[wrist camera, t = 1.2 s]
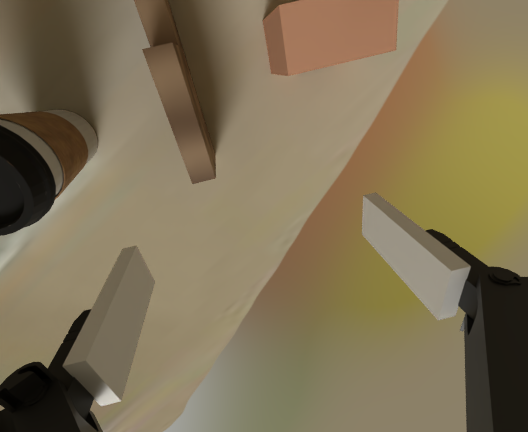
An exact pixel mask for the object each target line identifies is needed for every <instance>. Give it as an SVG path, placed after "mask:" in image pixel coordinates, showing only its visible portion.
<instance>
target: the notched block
mask: <svg viewBox="0 0 528 432" xmlns="http://www.w3.org/2000/svg"><path fill="white" fill-rule="evenodd" d="M398 3H399V0H299V1H295V2H290V3H286V4H281V5H278V6H277V7H276V8H275V9H274V10H273V11H272V12H271V13H270V14H269V15H268V16H267V17H266V18H265V19H264V20H263V25H264V31H265V37H266V44H267V50H268V56H269V62H270V68H271V74H277V75H285V76H290V75H294V74H299V73H303V72H307V71H311V70H315V69H319V68H324V67H328V66H332V65H336V64H340V63H344V62H349V61H353V60H357V59H361V58H365V57H370V56H374V55H378V54H382V53H386V52H390V51H395V50H396V42H397V23H398Z"/></svg>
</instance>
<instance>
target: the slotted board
mask: <svg viewBox="0 0 528 432" xmlns="http://www.w3.org/2000/svg"><path fill="white" fill-rule="evenodd" d="M134 2H135V4H136V7H137V10H138V13H139V16H140V18H141V21H142V24H143V27H144V30H145V32H146V35H147V38H148V41H149V44H150V46H151V47H150V48H146V49H142V50H143V53H144V56H145V58H146V61H147V64H148V66H149V69H150V72H151V74H152V77H153V80H154V82H155V85H156V88H157V90H158V93H159V96H160V98H161V101H162V104H163V106H164V109H165V112H166V115H167V117H168V120H169V123H170V125H171V128H172V131H173V133H174V136H175V139H176V141H177V144H178V147H179V149H180V152H181V155H182V157H183V160H184V163H185V165H186V168H187V171H188V173H189V176H190V179H191V181H192V184H195V183H199V182H203V181H207V180H211V179H215V178H216V164H215V152H214V149H213V146H212V143H211V139H210V136H209V133H208V129H207V126H206V123H205V120H204V116H203V113H202V110H201V107H200V103H199V100H198V97H197V93H196V90H195V87H194V84H193V80H192V77H191V74H190V70H189V67H188V64H187V61H186V57H185V54H184V51H183V48H182V44H181V41H180V38H179V34H178V31H177V28H176V25H175V21H174V18H173V15H172V11H171V8H170V5H169V2H168V0H134Z"/></svg>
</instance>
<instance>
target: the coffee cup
mask: <svg viewBox="0 0 528 432" xmlns="http://www.w3.org/2000/svg"><path fill="white" fill-rule="evenodd" d="M97 148H98V140H97V136H96V133H95V131H94V129H93V128H92V126H91V125H90V124H89V123H88V122H87V121H86V120H85V119H84V118H82V117H81V116H79V115H77V114H75V113H73V112H70V111H67V110H49V111H39V112H26V113H13V114H1V115H0V236H1V235H7V234H10V233H14V232H16V231H18V230H20V229H22V228H24V227H27V226H30V225H32V224H34V223H35V222H37V221H39V220H40V219H41V218H42V217H43V216H44V215H45V214H46V213H47V212H48V211H49V210H50V208H51V207H52V205H53V203H54V200H55V199H56V198H57V197H59V195H60V194H61V193H62V192H63V191H64V190H65V188H66V187H67V186H68V185H69V184H70V183H71V181H72V180H73V179H74V178H75V177H76V176H77V174H78V173H79V172H80V171H81V170H82V168H83V167H84V166H85V164H86V163H87V162H88V161H89V160H90V159H91V158H92V157H93V156H94V155H95V153H96V151H97Z"/></svg>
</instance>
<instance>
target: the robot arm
mask: <svg viewBox="0 0 528 432" xmlns="http://www.w3.org/2000/svg"><path fill="white" fill-rule="evenodd" d="M362 235H363V236H364V237H365V238H366V239H367V240H368V241H369V243H370V244H371V245H372V246H373V247H374V248H375V249H376V251H377V252H378V253H379V254H380V255H381V256H382V257H383V258H384V260H385V261H386V262H387V263H388V264H389V265H390V266H391V267H392V269H393V270H394V271H395V272H396V273H397V274H398V275H399V277H400V278H401V279H402V280H403V281H404V282H405V283H406V284H407V285H408V287H409V288H410V289H411V290H412V291H413V292H414V294H415V295H416V296H417V297H418V298H419V299H420V300H421V301H422V302H423V304H424V305H425V306H426V307H427V308H428V309H429V310H430V312H431V313H432V314H433V315H434V316H435V317H436V318H437V320H441V319H445V318H449V317H453V316H455V315H456V312H457V309H458V306H459V307H460V308H461V309H462V310H463V311H464V312H466V314H465V317H464V320H463V323H462V326H461V329H460V331H464V333H465V334H464V335H465V336H464V337H465V375H466V376H465V379H466V416H467V417H466V418H467V420H466V421H467V432H528V277H520V276H519V275H518V274H516V273H514V272H512V271H510V270H508V269H504V268H500V267H488V266H487V265H485V264H484V263H483V262H481V261H480V260H478V259H477V258H476V257H474V256H473V255H471V254H470V253H469V252H468V251H466V250H465V249H463V248H462V247H460V246H459V245H458V244H456V243H455V242H453V241H452V240H451V239H450V238H448V237H447V236H445V235H444V234H442V233H440V232H437V231H435V230H433V229H430V230H426V231H425V230H423V229H422V228H421V227H419V226H418V225H417V224H416V223H414V222H413V221H412V220H411V219H409V218H408V217H407V216H405V215H404V214H403V213H402V212H400V211H399V210H398V209H396V208H395V207H394V206H393V205H391V204H390V203H389V202H387V201H386V200H385V199H384V198H382V197H381V196H380V195H378V194H377V193H372V194H368V195H363V219H362ZM154 283H155V281H154V279H153V277H152V275H151V273H150V271H149V269H148V267H147V265H146V263H145V261H144V259H143V257H142V255H141V253H140V251H139V249H138V247H137V246H133V247H128V248H124V249H122V251H121V253H120V255H119V257H118V259H117V261H116V263H115V265H114V267H113V269H112V271H111V272H110V274H109V276H108V278H107V280H106V282H105V284H104V286H103V288H102V290H101V292H100V294H99V296H98V298H97V300H96V302H95V304H94V306H93V307H92V309H90V310H86V311H83V312H82V314H81V315H80V316H79V317H78V318H77V319H76V320H75V321H74V323H73V324H72V326H71V328H70V330H69V331H68V334H67V335H66V337H65V339H64V340H63V343H62V344H61V346H60V348H59V349H58V351H57V353H56V355H55V357H54V358H53V360H52V362H51V364H50V365H49V367H48V369H47V368H46V367H45V366H44V365H43V364H42V363H41V362H32V363H29V364H26V365H24V366H22V367H21V368H19V369H17V370H16V371H15V372H13V373H12V374H11V375H10V376H8V377H7V378H6V379H5V381H4V382H3V383H2V384H1V385H0V405H1V406H3V407H4V408H5V409H3V410H2V411H0V432H103V431H102V429H101V427H100V425H99V423H98V421H97V419H96V417H95V415H94V414H93V413H92V412H91V411H90V408H91V405H92V402H93V400H94V399H95V400H96V401H97V402H98V404H99V405H100V406H104V405H108V404H112V403H116V402H120V401H121V400H122V396H123V393H124V389H125V386H126V382H127V379H128V375H129V372H130V368H131V365H132V361H133V358H134V354H135V351H136V347H137V343H138V340H139V336H140V333H141V329H142V326H143V322H144V319H145V315H146V312H147V308H148V305H149V301H150V298H151V294H152V291H153V287H154Z"/></svg>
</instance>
